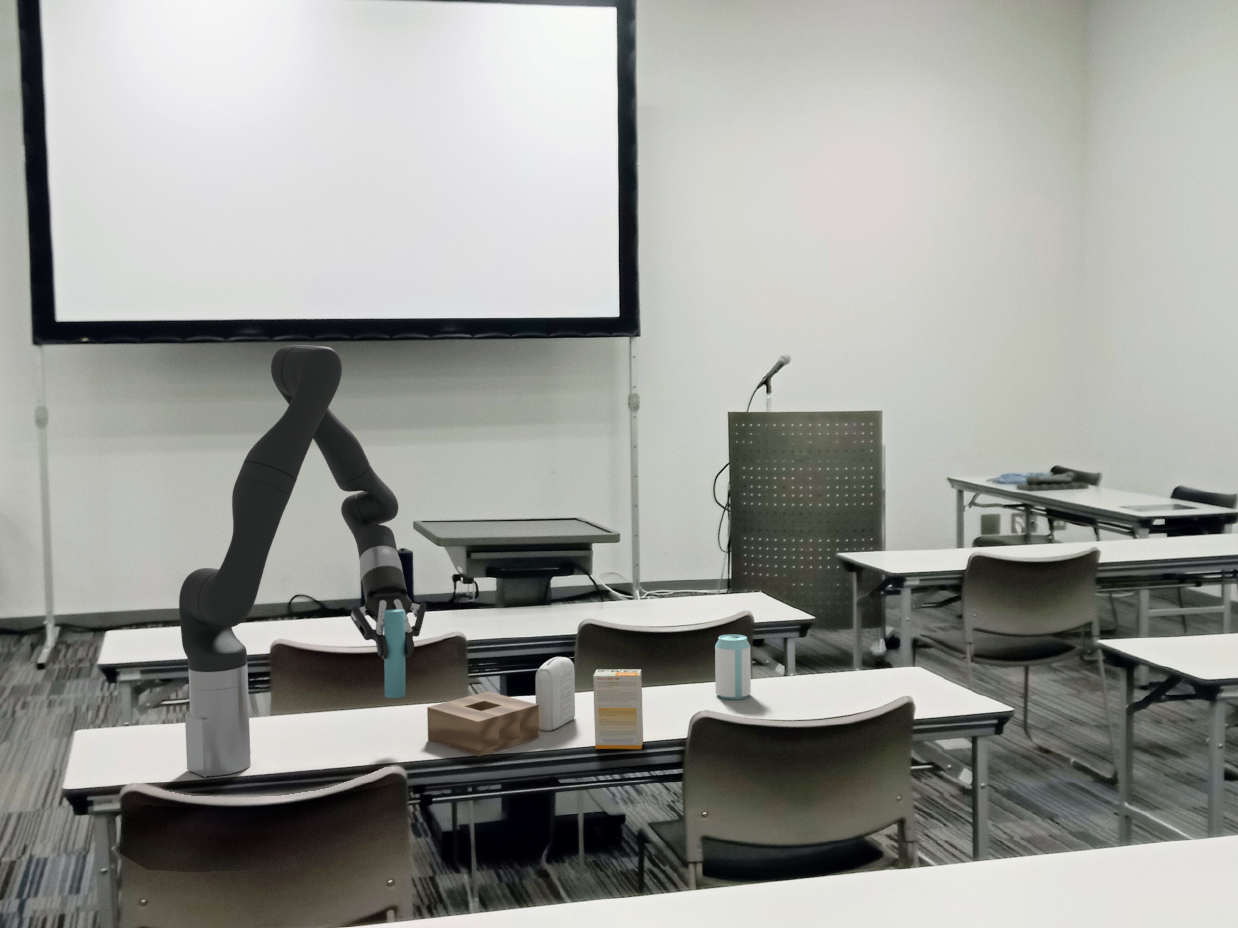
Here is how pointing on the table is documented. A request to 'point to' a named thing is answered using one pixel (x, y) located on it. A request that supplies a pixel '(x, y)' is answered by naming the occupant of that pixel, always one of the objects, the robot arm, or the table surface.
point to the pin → (395, 653)
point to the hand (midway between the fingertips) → (397, 655)
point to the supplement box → (618, 708)
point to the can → (732, 667)
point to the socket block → (483, 723)
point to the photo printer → (555, 693)
